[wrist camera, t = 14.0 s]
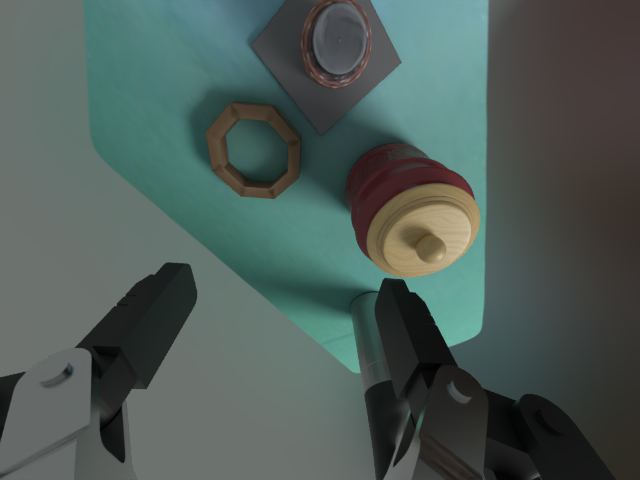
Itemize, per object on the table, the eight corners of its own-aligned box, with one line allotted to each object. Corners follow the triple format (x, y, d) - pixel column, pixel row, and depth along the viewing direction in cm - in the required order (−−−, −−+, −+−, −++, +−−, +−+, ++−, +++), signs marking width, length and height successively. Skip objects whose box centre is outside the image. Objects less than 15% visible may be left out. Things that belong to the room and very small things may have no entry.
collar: (317, 156, 32) (317, 161, 30) (262, 205, 37) (258, 212, 34) (254, 80, 27) (249, 80, 25) (198, 146, 31) (189, 151, 29)
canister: (333, 213, 38) (345, 295, 23) (361, 129, 31) (403, 171, 16) (405, 229, 40) (458, 313, 25) (446, 154, 33) (552, 211, 18)
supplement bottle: (307, 90, 28) (304, 95, 18) (298, 24, 24) (289, -13, 15) (357, 83, 27) (379, 84, 18) (355, 14, 24) (381, -29, 15)
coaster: (399, 62, 27) (401, 62, 26) (321, 135, 31) (321, 135, 30) (337, -62, 21) (337, -65, 21) (252, 46, 26) (250, 45, 25)
